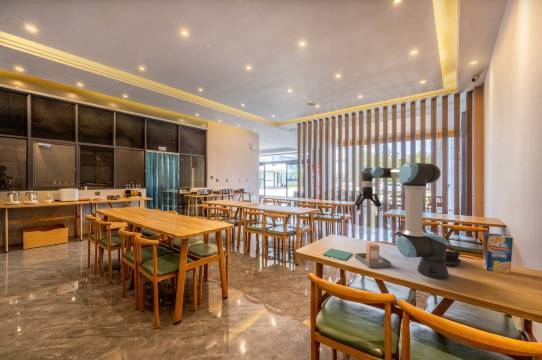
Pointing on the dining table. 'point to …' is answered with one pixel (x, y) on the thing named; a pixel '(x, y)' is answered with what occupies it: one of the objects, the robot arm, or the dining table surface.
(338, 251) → the mat
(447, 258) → the casserole
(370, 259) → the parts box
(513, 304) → the dining table surface
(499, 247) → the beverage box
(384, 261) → the bin
